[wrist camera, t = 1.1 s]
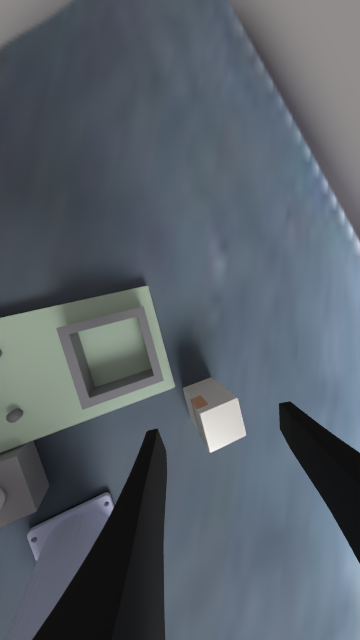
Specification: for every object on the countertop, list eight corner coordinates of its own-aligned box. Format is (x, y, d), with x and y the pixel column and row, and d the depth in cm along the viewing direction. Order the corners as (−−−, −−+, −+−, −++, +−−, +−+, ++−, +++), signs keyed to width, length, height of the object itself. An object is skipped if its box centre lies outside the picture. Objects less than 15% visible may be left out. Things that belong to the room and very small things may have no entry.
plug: (218, 405, 23) (246, 435, 17) (190, 417, 22) (210, 453, 16) (211, 376, 23) (237, 397, 17) (182, 387, 22) (199, 413, 16)
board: (172, 383, 22) (180, 396, 18) (-26, 456, 17) (-69, 494, 13) (146, 287, 21) (149, 281, 17) (-72, 335, 16) (-133, 341, 12)
